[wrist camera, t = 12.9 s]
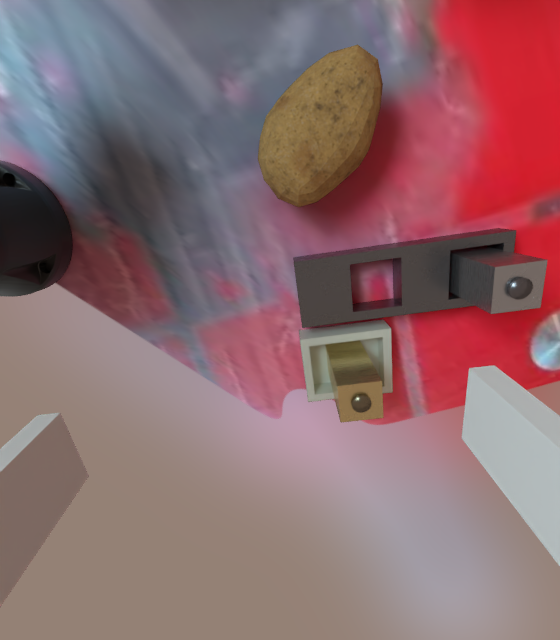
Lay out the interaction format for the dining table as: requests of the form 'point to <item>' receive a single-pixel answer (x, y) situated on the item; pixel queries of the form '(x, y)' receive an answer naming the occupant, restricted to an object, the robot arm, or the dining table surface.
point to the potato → (321, 126)
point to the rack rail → (408, 277)
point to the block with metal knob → (354, 382)
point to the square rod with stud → (497, 279)
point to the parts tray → (315, 340)
